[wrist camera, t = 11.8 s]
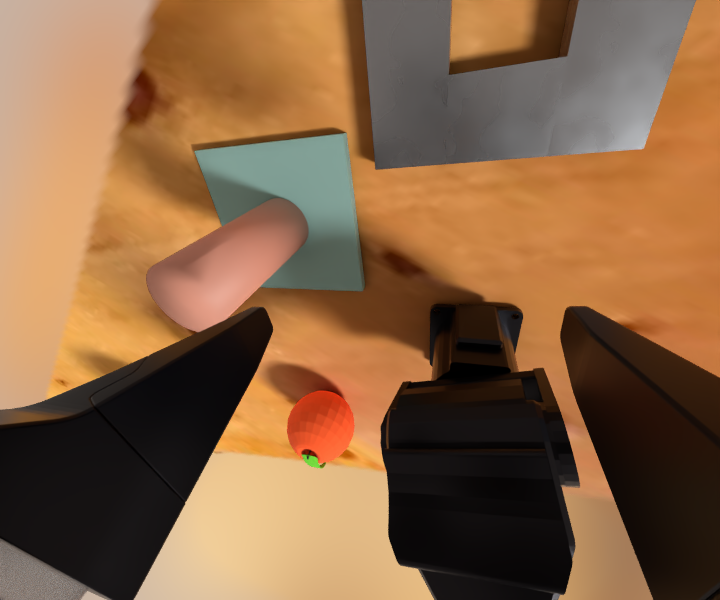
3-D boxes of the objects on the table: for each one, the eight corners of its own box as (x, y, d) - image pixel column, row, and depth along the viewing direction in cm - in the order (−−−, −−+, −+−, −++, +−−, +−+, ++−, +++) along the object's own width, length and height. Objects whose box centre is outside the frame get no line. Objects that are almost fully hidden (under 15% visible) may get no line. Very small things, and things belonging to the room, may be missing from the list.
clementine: (368, 426, 35) (351, 490, 29) (314, 420, 37) (289, 478, 32) (355, 379, 31) (332, 442, 25) (296, 374, 33) (263, 432, 27)
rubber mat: (365, 286, 24) (362, 291, 24) (249, 282, 27) (244, 286, 27) (346, 132, 18) (342, 134, 18) (202, 149, 21) (194, 151, 21)
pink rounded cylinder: (313, 249, 23) (232, 335, 15) (268, 250, 24) (171, 329, 16) (301, 196, 20) (198, 263, 13) (252, 199, 22) (131, 262, 14)
